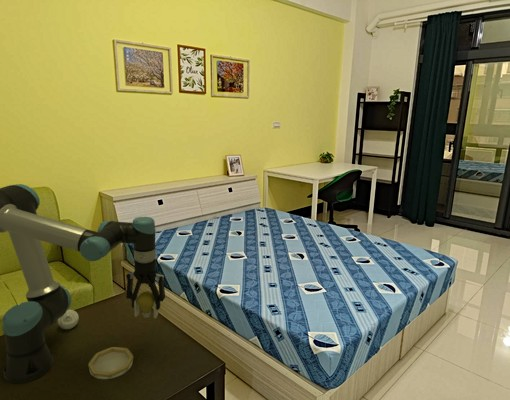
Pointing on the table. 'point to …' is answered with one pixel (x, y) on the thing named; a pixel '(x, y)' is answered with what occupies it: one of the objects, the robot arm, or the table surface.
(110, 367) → the socket base
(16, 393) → the table surface
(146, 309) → the light bulb
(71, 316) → the motion sensor
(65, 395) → the table surface
